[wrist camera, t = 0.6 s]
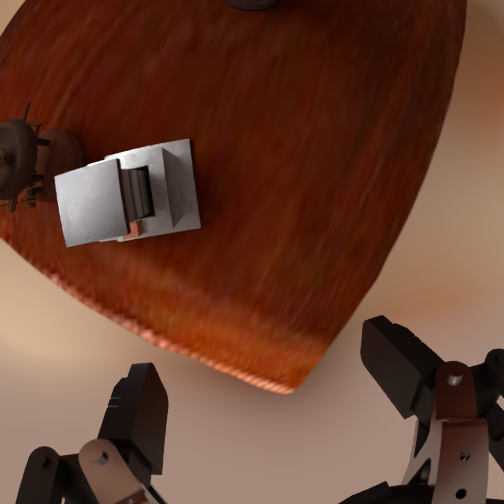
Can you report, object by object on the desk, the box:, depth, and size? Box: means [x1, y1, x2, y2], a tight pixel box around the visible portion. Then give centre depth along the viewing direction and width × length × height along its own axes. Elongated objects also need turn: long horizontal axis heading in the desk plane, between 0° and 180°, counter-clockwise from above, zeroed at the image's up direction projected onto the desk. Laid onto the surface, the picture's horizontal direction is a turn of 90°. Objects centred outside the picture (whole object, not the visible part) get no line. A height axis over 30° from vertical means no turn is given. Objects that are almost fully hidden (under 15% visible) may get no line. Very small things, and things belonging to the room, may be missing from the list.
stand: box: [88, 139, 201, 242], centre depth 28 cm, size 12×12×12 cm
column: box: [55, 158, 154, 247], centre depth 24 cm, size 5×5×19 cm
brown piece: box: [0, 102, 83, 213], centre depth 21 cm, size 15×11×20 cm
